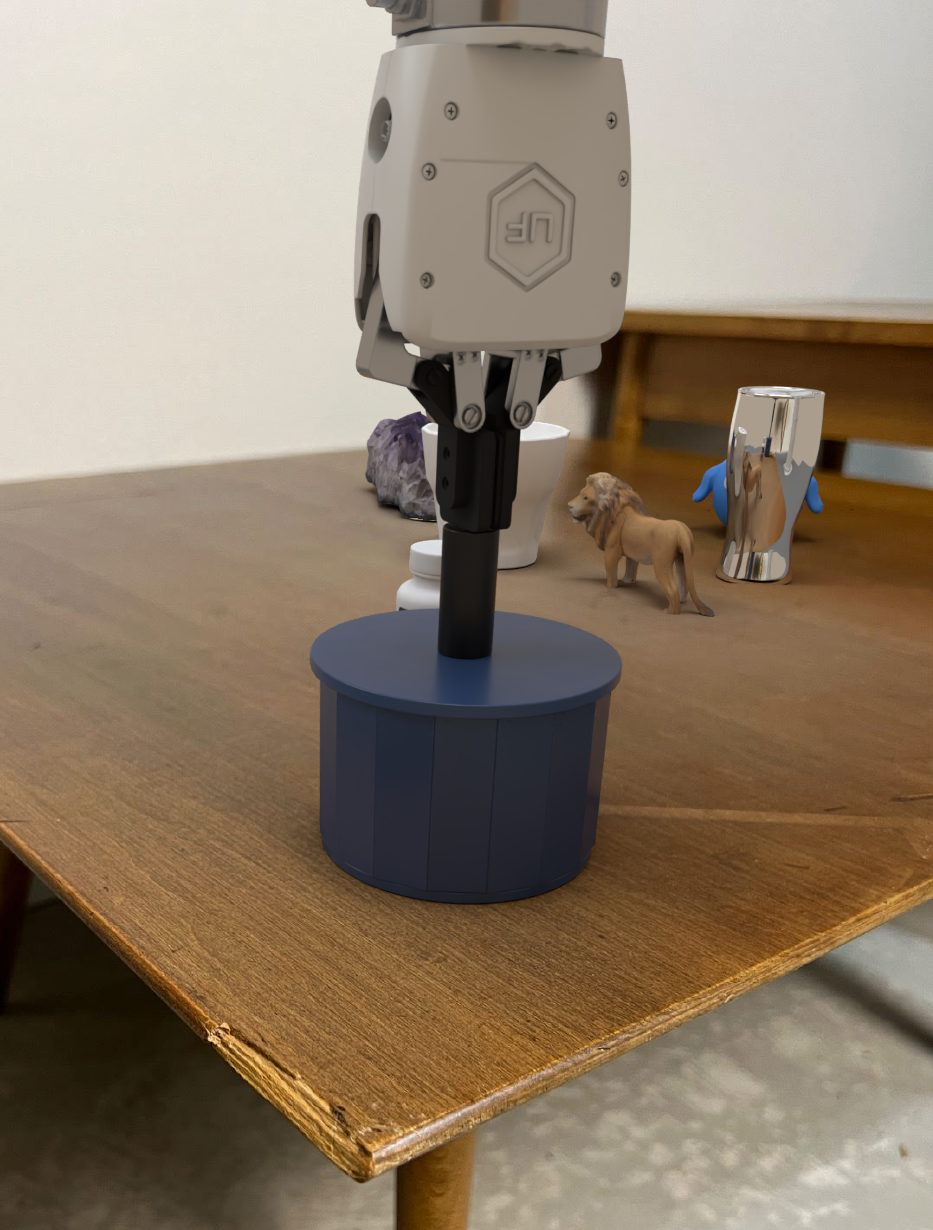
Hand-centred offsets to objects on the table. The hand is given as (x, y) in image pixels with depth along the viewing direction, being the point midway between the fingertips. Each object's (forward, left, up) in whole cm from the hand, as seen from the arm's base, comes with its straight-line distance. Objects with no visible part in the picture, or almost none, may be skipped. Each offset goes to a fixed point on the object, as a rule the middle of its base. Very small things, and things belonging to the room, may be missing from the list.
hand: (474, 523), depth 51 cm
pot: (0, 0, -15) cm, 15 cm away
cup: (-3, -55, -15) cm, 57 cm away
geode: (+3, -79, -15) cm, 80 cm away
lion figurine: (-14, -43, -15) cm, 48 cm away
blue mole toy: (-28, -66, -15) cm, 73 cm away
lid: (0, 0, -6) cm, 6 cm away
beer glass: (-25, -51, -15) cm, 59 cm away
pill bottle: (+1, -17, -15) cm, 23 cm away
